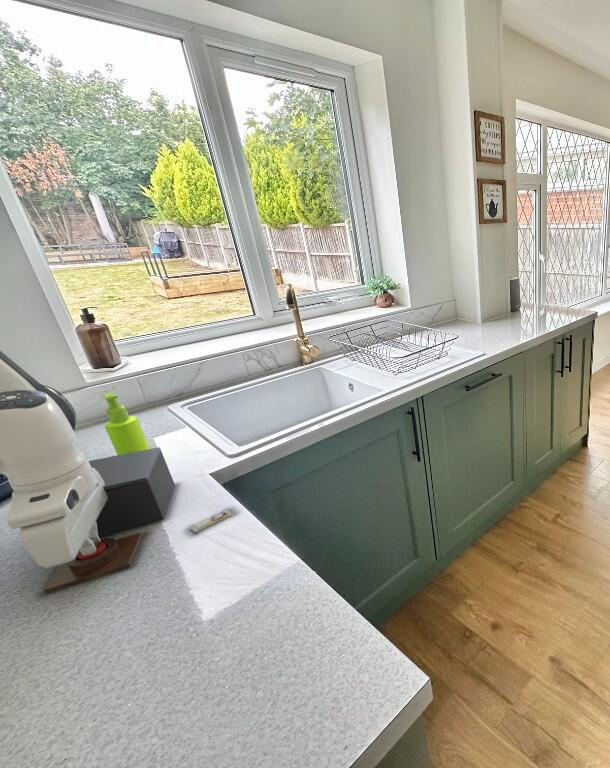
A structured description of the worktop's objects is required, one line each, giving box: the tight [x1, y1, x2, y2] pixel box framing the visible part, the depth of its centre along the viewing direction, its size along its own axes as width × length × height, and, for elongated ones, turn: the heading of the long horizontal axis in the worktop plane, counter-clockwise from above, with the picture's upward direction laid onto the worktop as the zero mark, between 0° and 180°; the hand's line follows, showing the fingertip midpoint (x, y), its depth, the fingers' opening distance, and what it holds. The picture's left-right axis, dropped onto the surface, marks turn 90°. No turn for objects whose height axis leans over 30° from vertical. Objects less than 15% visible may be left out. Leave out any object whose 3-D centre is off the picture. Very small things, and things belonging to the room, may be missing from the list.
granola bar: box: [189, 510, 232, 533], centre depth 84 cm, size 7×2×1 cm, turn 142°
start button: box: [78, 543, 107, 560], centre depth 74 cm, size 4×4×2 cm
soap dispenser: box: [100, 391, 151, 456], centre depth 100 cm, size 6×7×20 cm
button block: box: [43, 532, 143, 595], centre depth 74 cm, size 11×9×3 cm
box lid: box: [88, 446, 162, 490], centre depth 82 cm, size 15×14×5 cm
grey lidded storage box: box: [96, 450, 176, 539], centre depth 85 cm, size 15×14×10 cm
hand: (92, 549), depth 73 cm, fingers closed, pressing on start button
